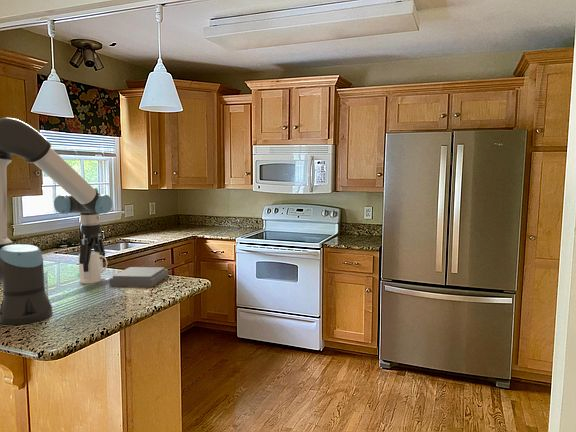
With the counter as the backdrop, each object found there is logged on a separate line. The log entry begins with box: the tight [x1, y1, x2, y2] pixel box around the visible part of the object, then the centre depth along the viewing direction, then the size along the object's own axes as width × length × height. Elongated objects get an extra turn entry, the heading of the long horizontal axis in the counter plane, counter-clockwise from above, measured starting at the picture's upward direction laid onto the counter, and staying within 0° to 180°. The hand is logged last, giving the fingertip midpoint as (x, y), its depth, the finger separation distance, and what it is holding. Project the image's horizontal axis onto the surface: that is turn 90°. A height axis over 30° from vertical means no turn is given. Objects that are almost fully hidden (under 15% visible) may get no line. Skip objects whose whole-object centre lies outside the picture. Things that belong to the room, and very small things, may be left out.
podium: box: [109, 266, 169, 288], centre depth 190 cm, size 18×18×4 cm
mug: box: [78, 251, 108, 285], centre depth 191 cm, size 12×8×12 cm
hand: (93, 276), depth 191 cm, fingers closed on mug, 9 cm apart
